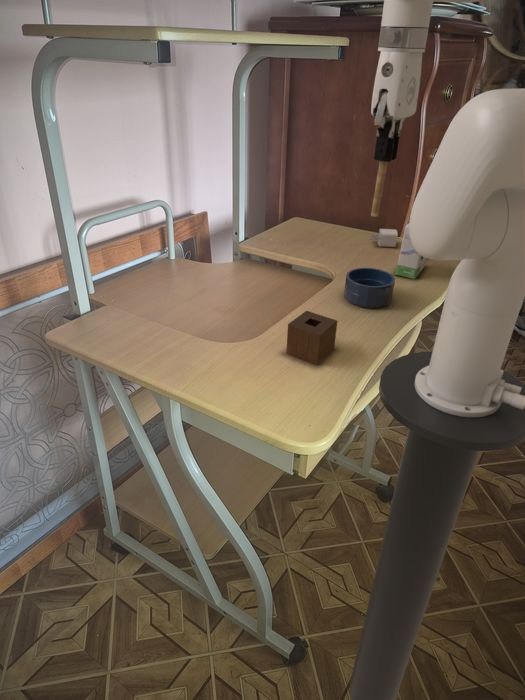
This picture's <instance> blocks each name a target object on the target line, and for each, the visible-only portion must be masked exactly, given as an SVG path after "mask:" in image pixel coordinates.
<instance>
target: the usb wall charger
mask: <svg viewBox="0 0 525 700" xmlns="http://www.w3.org/2000/svg"><path fill="white" fill-rule="evenodd" d="M378 232H379V233H378V234H369V240H372V241H377V245H378V247H381V248H396V247H397V242H398V236H399V233H398V230H397V229H395V228H394V229H393V228H379V231H378Z"/></svg>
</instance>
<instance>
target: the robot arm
mask: <svg viewBox="0 0 525 700" xmlns="http://www.w3.org/2000/svg"><path fill="white" fill-rule="evenodd" d="M480 1H482V0H383V7H382V14H381V15H382V16H381V23H380V32H379V38H378V47H377V51H378V52H380V54H379V58H378V64H377V67H376V73H375V78H374V82H373V83H374V84H373V90H372V96H371V97H372V98H371V107H370V113H371V116H372V117H373V118H374V122H373V123H374V124H373V126H374V127H375V128H376V141H375V149H374V154H373V155H374V156H373V160H374V161H377V162H380V161H384V162H388V163H390V162H392V161H395V160H397V157H398V150H399V144H400V139H401V134H402V128H403V124H404V121H405V120H406V119H407V118H410V117H412V116H414V115H415V113H416V112H417V106H418V101H419V93H420V85H421V78H422V65H423V53H425V52H426V46H427V40H428V35H429V28H430V24H431V23H430V22H431V17H432V11H433V4H434V3H437V2H440V3H441V2H445V3H463V4H464V3H465V4H469V3H471V4H472V3H477V2H480ZM408 223H409V236H410V240H411V243H412V246H413V247H414V249H415V250H416V252H417V253H418V254H420V255H421V256H423V257H424V258H426V260H430V261H437V262H453V261H460V262H459V263H458V264H457V266H456V268H455V269H454V271H453V273H452V275H451V277H450V279H449V283H448V286H447V289H446V293H445V298H444V302H443V306H442V311H441V315H440V319H439V323H438V327H437V332H436V335H435V340H434V344H433V348H432V351H433V352H432V356H431V360H430V364H429V366H427V367H424V368H422V369H421V370H420V371H419V372H418V373H417V375H416V378H415V389H416V391H417V393H418V395H419V396H420V397H421V398H422V399H423V400H424V401H425V402H426V403H428V404H429V405H431V406H432V407H434V408H436V409H438V410H440V411H442V412H445V413H448V414H451V415H455V416H460V417H469V418H473V417H483V416H487V415H490V414H493V413H494V412H496V411H497V410H498V409H499V408H500V406H501V403H502V402H503V403H506V404H509V405H510V406H513V407H516V408H519V409H522V410H523V409H524V407H525V396H523V395H520V392H521V389H522V387H519V386H516V385H511V384H508V383H505V380H502V379H501V378H502V375H503V372H504V370H505V369H503V370H501V369H502V365H503V363H504V359H505V357H506V355H507V350H508V347H509V344H510V341H511V338H512V335H513V333H514V329H515V326H516V323H517V320H518V317H519V313H520V312H521V309H522V306H523V303H524V300H525V88H498V89H497V88H496V89H491V90H486V91H484V92H481V93H479V94H477V95H475V96H474V97H472V98H471V99H470V100H468V101H467V102H466V103H465V104H464V105H463V106H462V107H461V108H460V109H459V110H458V111H457V113H456V114H455V115H454V116H453V118H452V120H451V121H450V124H449V125H448V128H447V130H446V131H445V133H444V135H443V138H442V139H441V142H440V144H439V146H438V149H437V150H436V152H435V154H434V157H433V158H432V162H431V163H430V166H429V168H428V170H427V172H426V175H425V176H424V179H423V181H422V183H421V184H420V187H419V190H418V192H417V194H416V196H415V199H414V202H413V204H412V208H411V211H410V215H409V221H408Z"/></svg>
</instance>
